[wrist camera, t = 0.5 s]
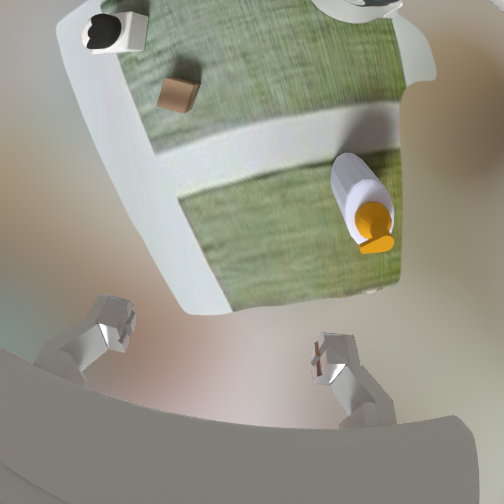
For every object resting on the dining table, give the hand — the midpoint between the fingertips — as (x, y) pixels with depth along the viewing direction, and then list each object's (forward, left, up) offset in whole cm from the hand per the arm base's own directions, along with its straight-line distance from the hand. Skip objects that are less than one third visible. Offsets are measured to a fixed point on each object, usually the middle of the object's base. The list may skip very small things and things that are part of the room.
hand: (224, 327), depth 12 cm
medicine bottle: (-9, -29, -43) cm, 53 cm away
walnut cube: (-1, -15, -43) cm, 46 cm away
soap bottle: (+3, +20, -43) cm, 48 cm away
